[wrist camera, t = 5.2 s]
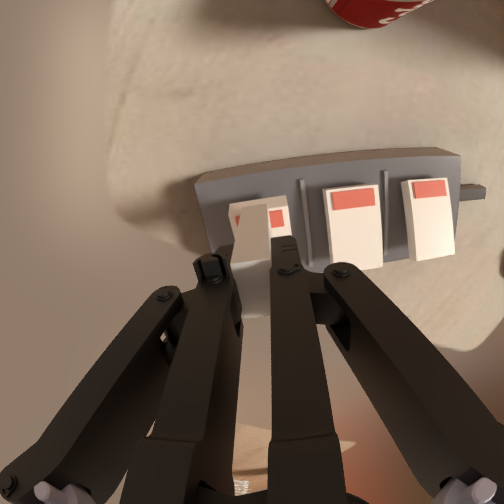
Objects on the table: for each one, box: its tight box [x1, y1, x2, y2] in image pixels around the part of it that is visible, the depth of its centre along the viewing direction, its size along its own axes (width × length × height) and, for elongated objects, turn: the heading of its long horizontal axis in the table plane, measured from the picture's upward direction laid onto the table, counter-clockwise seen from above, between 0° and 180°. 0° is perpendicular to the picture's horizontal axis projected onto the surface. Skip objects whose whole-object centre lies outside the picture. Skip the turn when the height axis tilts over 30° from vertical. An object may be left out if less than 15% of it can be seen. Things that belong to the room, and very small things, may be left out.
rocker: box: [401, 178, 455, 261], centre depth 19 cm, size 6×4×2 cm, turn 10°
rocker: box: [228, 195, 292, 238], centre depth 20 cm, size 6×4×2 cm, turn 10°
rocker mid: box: [322, 183, 383, 270], centre depth 20 cm, size 6×4×2 cm, turn 10°
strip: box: [194, 148, 486, 273], centre depth 22 cm, size 9×28×4 cm, turn 100°
